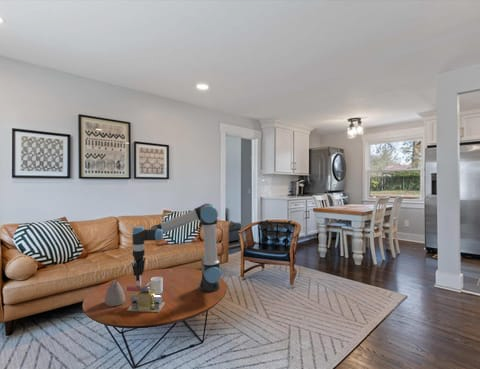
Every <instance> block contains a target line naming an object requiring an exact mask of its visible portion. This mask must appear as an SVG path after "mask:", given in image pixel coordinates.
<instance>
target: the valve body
mask: <svg viewBox="0 0 480 369" xmlns="http://www.w3.org/2000/svg"><path fill="white" fill-rule="evenodd" d="M130 302H131V305H130V306H128V308H127V309H126V310H127V312H144V313H145V312H147V313H159V312H160V311H161V309H162V308H163V306H164V305H165V304H166V302H165V301H163V295H162V294H158V295H156V294H155V289H151V288H150V292H146V293H145V292H141V291H139V292H138V293H137V294H132V295H131V296H130Z"/></svg>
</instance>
